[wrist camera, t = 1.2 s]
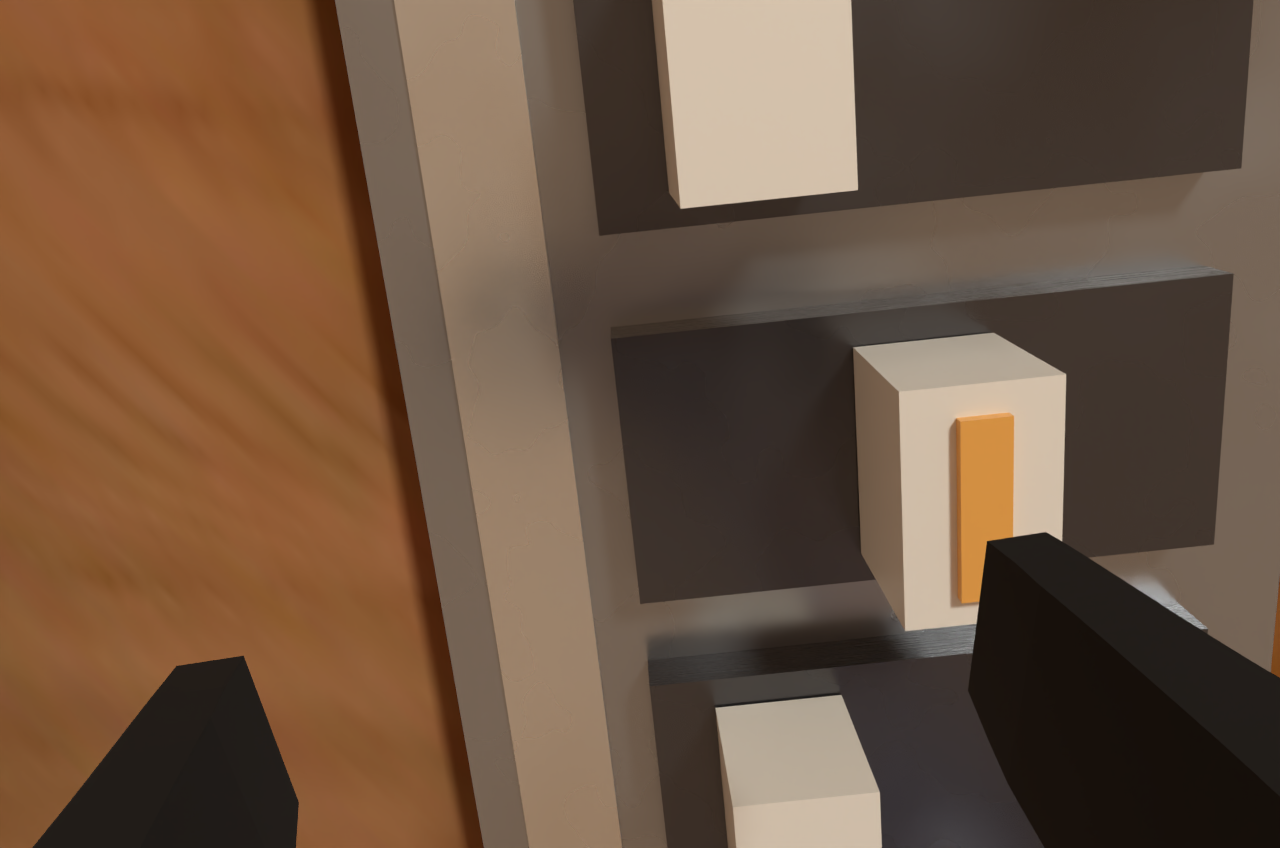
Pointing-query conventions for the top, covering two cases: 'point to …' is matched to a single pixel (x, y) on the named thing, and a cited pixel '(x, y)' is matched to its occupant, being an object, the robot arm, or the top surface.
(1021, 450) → the breaker middle
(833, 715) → the block
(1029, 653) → the robot arm
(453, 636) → the breaker panel
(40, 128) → the top surface
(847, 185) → the block
